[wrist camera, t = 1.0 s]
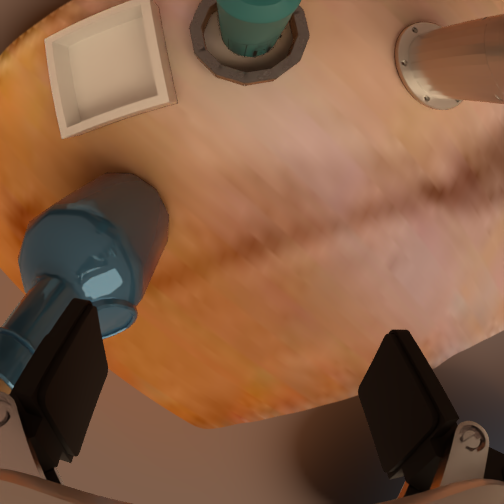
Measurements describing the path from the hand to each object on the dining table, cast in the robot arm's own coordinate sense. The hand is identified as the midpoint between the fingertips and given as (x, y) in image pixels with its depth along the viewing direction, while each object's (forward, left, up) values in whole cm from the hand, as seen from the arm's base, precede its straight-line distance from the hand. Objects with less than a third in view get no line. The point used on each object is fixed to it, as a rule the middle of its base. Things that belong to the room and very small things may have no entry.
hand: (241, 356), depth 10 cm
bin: (+11, -16, -30) cm, 36 cm away
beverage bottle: (-5, -16, -30) cm, 35 cm away
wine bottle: (+15, +3, -30) cm, 34 cm away
